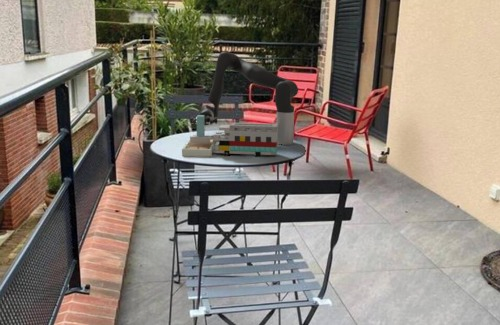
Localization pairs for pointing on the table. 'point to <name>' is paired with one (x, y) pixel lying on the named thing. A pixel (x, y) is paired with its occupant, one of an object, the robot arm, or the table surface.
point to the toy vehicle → (247, 139)
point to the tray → (197, 151)
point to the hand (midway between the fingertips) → (202, 122)
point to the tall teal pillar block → (200, 131)
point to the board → (199, 144)
